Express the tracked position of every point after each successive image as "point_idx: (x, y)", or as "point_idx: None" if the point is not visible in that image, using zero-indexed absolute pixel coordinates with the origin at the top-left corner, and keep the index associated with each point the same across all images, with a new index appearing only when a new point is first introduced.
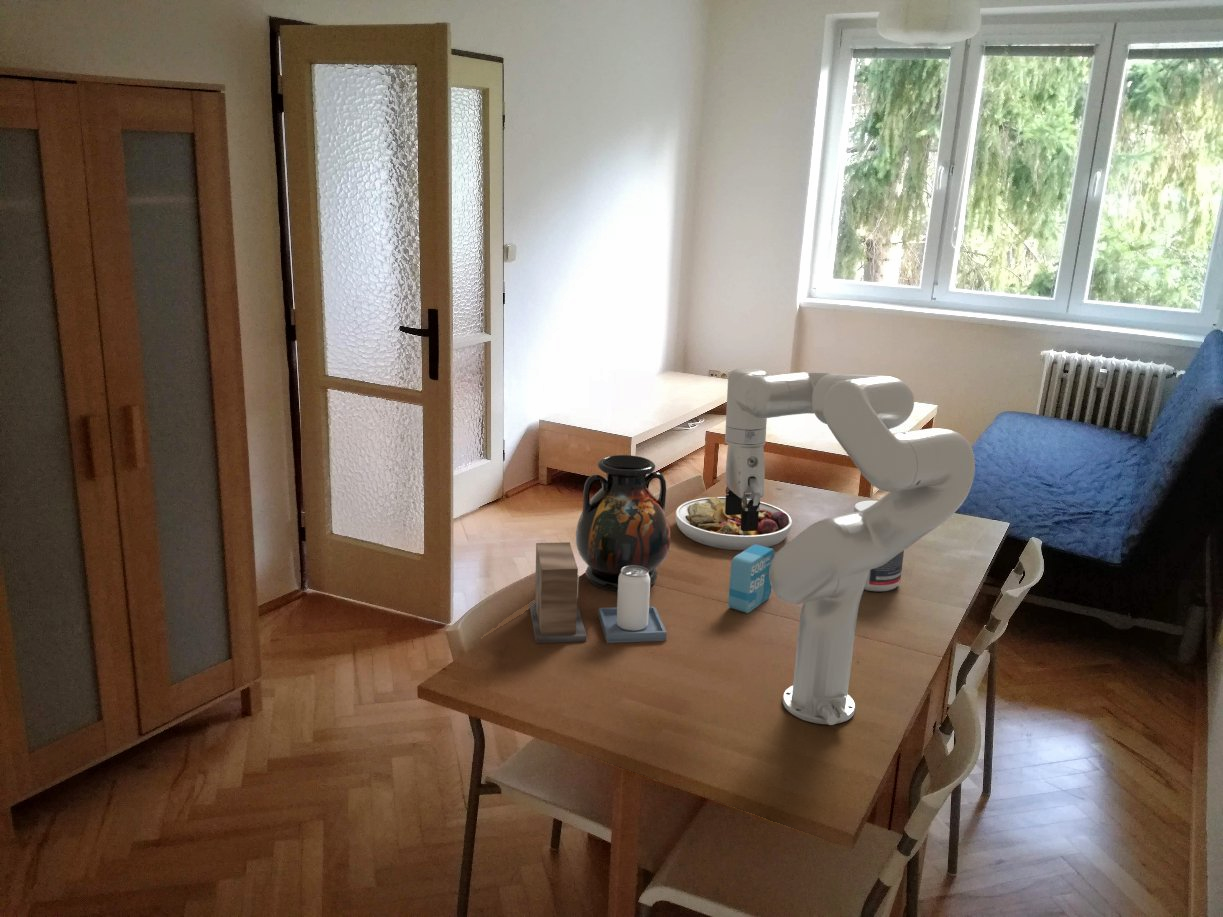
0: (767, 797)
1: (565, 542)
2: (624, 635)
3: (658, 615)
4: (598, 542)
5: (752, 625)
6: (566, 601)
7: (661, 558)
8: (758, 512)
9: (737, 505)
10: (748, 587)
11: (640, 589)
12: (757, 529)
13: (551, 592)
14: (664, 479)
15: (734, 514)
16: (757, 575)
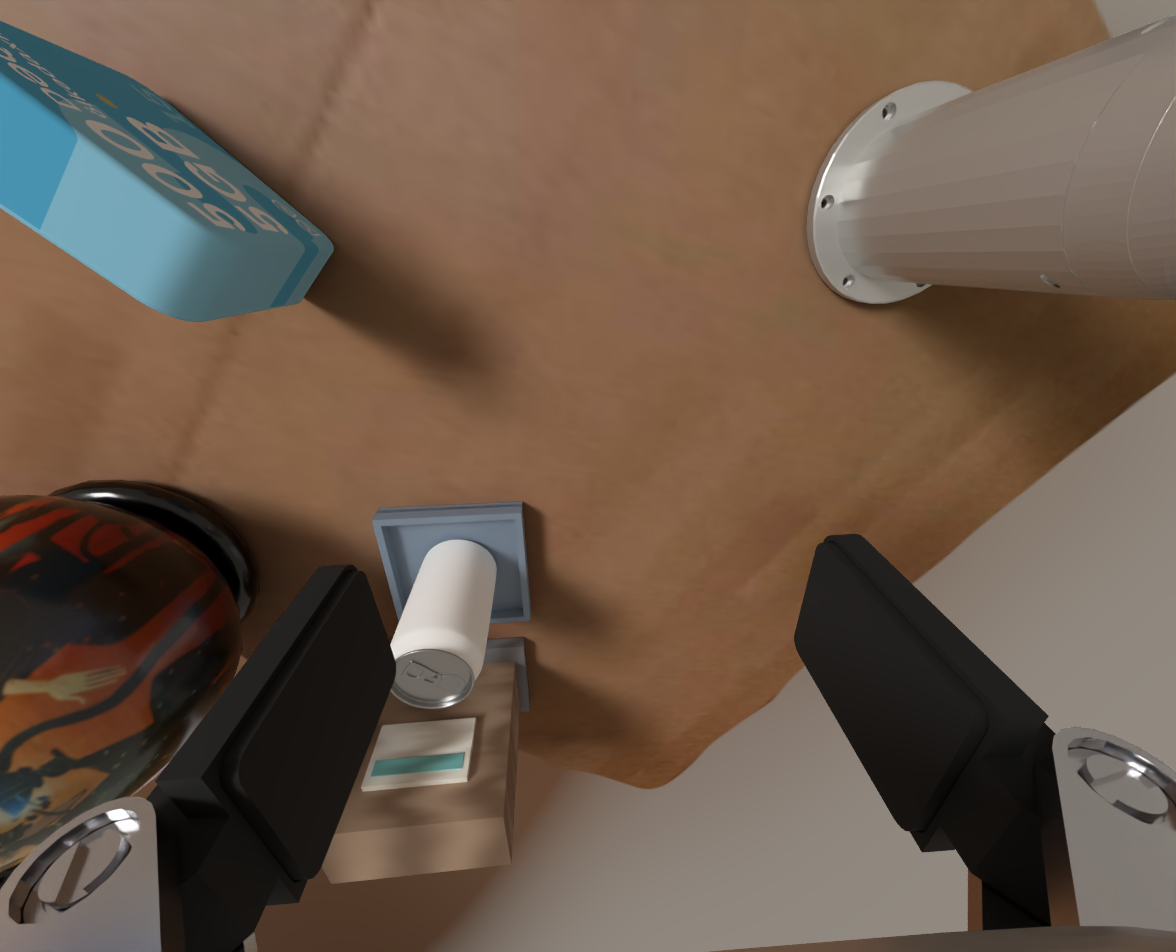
0: (1093, 426)
1: None
2: (528, 589)
3: (428, 519)
4: None
5: (418, 247)
6: (511, 742)
7: (131, 532)
8: (1012, 685)
9: (331, 678)
10: (290, 244)
11: (482, 637)
12: (859, 535)
13: (513, 785)
14: None
15: (379, 617)
16: (192, 178)
